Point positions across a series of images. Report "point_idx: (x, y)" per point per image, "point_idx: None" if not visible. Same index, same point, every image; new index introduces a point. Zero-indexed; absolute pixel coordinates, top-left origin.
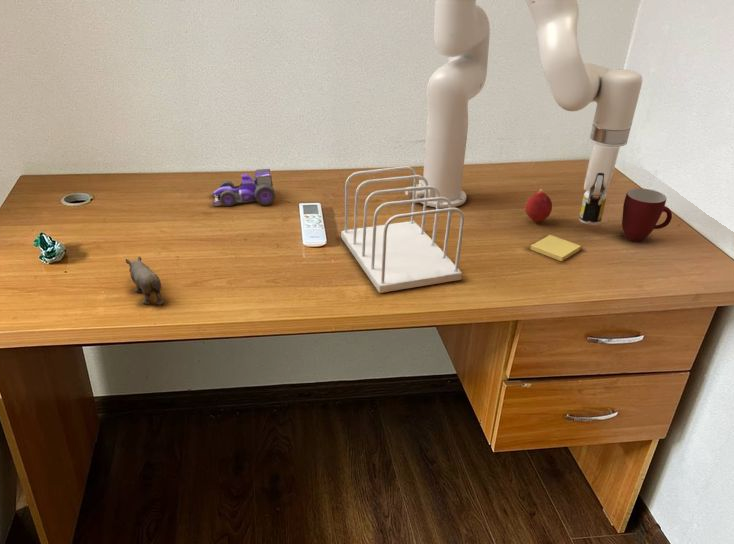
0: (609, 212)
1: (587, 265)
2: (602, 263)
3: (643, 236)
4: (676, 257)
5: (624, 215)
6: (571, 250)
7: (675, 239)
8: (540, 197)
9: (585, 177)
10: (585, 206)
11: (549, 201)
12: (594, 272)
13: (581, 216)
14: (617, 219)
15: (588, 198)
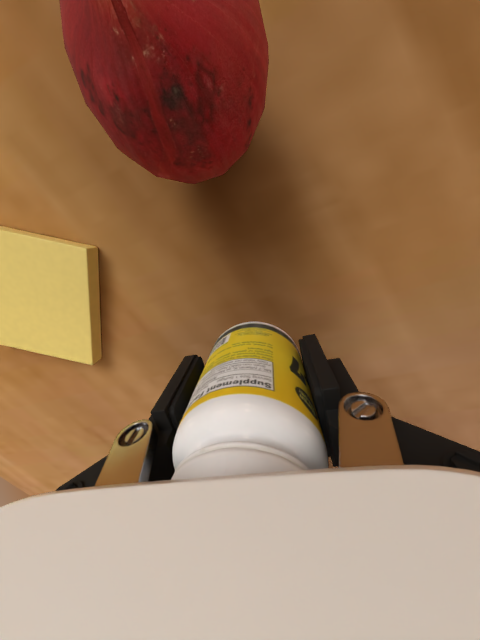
0: (473, 367)
1: (40, 392)
2: (79, 418)
3: None
4: None
5: None
6: (41, 350)
7: None
8: (75, 21)
9: (140, 594)
10: (160, 398)
11: (153, 138)
12: (23, 412)
13: (217, 343)
14: (408, 400)
15: (108, 458)
